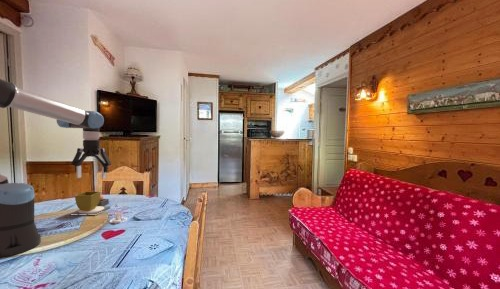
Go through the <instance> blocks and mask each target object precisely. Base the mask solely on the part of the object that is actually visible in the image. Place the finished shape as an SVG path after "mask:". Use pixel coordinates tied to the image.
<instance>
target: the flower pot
mask: <svg viewBox="0 0 500 289" xmlns="http://www.w3.org/2000/svg"><path fill="white" fill-rule="evenodd" d="M100 195H101V191H84V192H83V191H82V192H81V193H78V194H75V195H74V199H75V204H76V206H77V208H78V210H82V211H83V210H84V211H90V210H92V209H94V208H96V206H97V205H98V203H99V200H100Z"/></svg>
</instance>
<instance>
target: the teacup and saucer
mask: <svg viewBox="0 0 500 289" xmlns="http://www.w3.org/2000/svg"><path fill="white" fill-rule="evenodd" d="M122 219H124V220H122ZM108 221H109V223H111V224H119V223H123V222H127V221H128V217H123V212H122V211H118V212H115V213H114V217H113V218H112V219H110V220H108Z"/></svg>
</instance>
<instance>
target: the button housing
mask: <svg viewBox="0 0 500 289" xmlns="http://www.w3.org/2000/svg"><path fill="white" fill-rule="evenodd" d="M108 205H109V198H103V201H99V203H98V205H97V206H108Z"/></svg>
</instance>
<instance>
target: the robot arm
mask: <svg viewBox="0 0 500 289" xmlns="http://www.w3.org/2000/svg"><path fill="white" fill-rule="evenodd" d="M0 108H2V109H7V108H13V109H17V110H20V111H24V112H27V113H31V114H34V115H35V114H36V115H39V116H43V117H45V118H50V119H54V120H56V124H57V126H58V127H60V128H65V129H82V139H83V140H82V147H80V148H79V147H78V148H76V149H77V150H76V153H75V155H74V157H73V159H72V161H71V164H70V165H71V166H74V167H75V168H74V172H75V173H76V179H81V178H82V165H81V164H82V163H83V162H84V161H85V160H86V158H89V157H93V158H96V159H97V161H98V162H99V163H100V164H101V165H102V166H101V179H106V178H107V173H108V166H111V165H112V162H111V161H110V158H109V156H108V155H107V152H106V149H105V148H100V140H99V139H100V128H101V127H103V125H104V122H105V119H104V116H103V115H102V114H101V113H100V112H98V111H95V110H93V111H92V110H83V109H80V108H78V107H75V106H72V105H69V104H66V103H63V102H60V101H58V100H54V99H51V98H49V97H46V96H42V95H40V94H36V93H34V92H31V91H28V90H25V89H22V88H19V87H17V85H16V84H15V83H13V82H10V81H7V80H4V79H1V78H0ZM35 197H36V195H35V190H34V187H33V186H32V185H31V184H29V183H23V182H20V183H18V182H9V179H8V177H7V176H5V175H2V174H1V173H0V258H3V257H8V256H13V255H17V254H18V255H19V254H21V253H24V252H27V251H29V250H31V249H34V248H36V247H37V246H39V245H40V243H41V242H42V235H41V234H40V233H39V231H38V228H37V226H36V224H35Z"/></svg>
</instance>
